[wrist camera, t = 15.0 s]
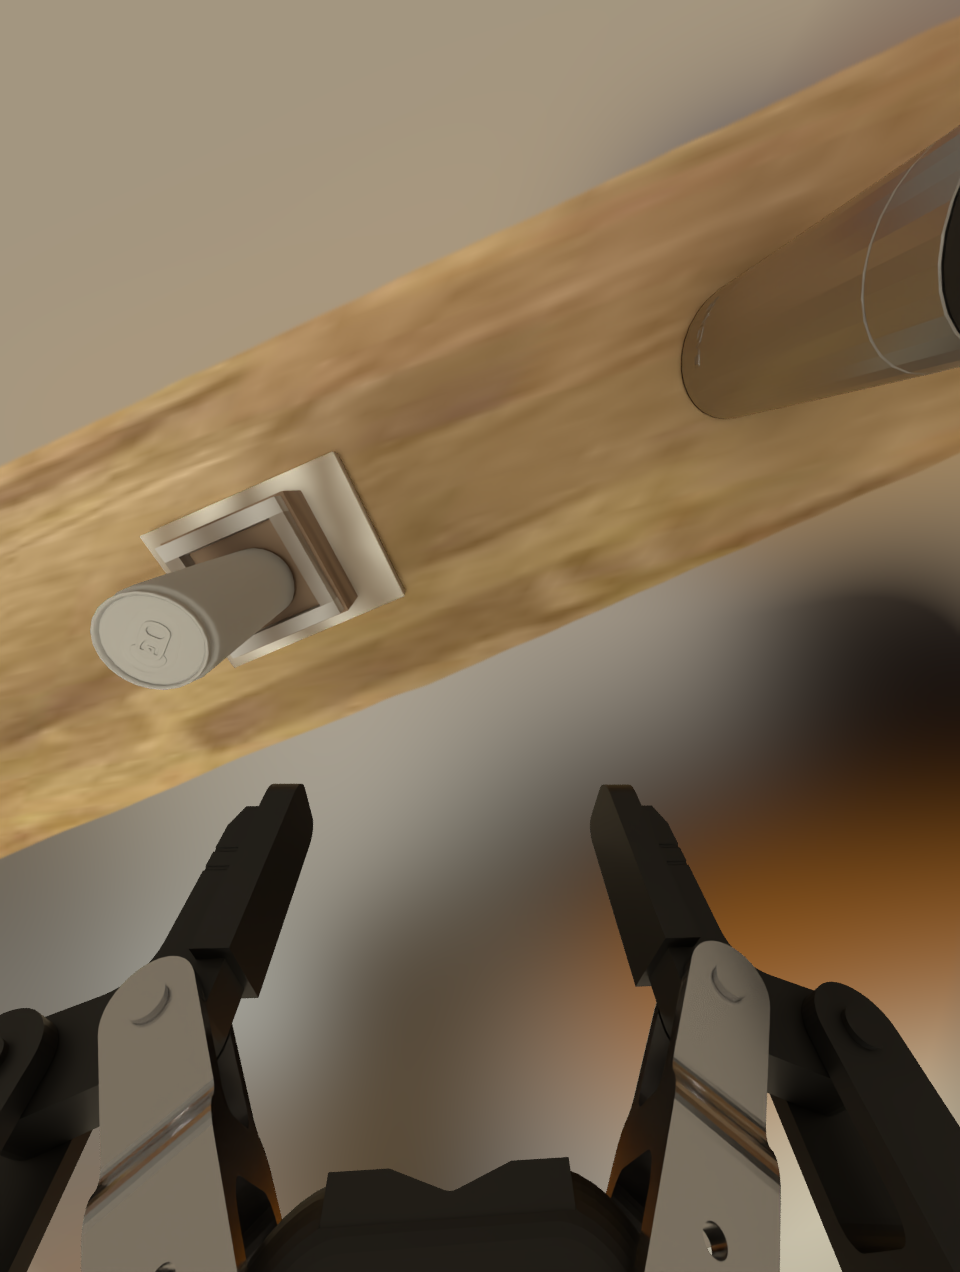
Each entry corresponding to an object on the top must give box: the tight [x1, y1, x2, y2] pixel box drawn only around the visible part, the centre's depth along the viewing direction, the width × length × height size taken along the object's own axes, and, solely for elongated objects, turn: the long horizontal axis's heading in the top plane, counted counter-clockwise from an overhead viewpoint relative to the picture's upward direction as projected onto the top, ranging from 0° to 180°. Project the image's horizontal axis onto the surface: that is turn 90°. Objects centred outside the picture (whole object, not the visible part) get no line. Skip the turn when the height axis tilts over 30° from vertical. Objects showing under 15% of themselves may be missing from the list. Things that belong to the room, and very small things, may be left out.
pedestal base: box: [140, 452, 405, 668], centre depth 30 cm, size 16×12×7 cm
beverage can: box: [90, 548, 295, 690], centre depth 23 cm, size 5×5×12 cm
